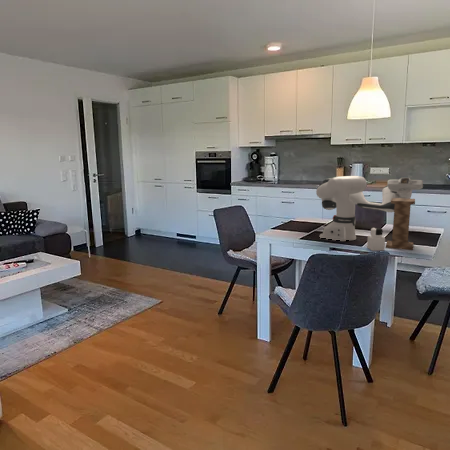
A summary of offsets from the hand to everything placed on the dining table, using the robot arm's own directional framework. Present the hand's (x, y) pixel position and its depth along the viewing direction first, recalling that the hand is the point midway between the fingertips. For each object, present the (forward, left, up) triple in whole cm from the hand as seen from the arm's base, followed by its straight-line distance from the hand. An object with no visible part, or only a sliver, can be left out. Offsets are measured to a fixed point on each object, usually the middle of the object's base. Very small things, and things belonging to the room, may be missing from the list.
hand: (405, 179), depth 237 cm
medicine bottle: (-12, -37, -37) cm, 54 cm away
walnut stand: (0, -26, -36) cm, 45 cm away
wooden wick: (0, -4, -1) cm, 4 cm away
